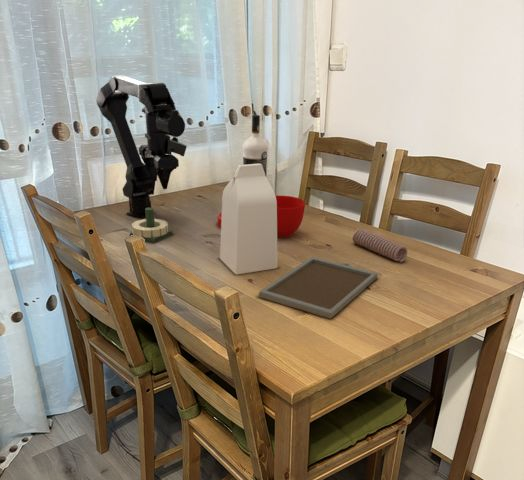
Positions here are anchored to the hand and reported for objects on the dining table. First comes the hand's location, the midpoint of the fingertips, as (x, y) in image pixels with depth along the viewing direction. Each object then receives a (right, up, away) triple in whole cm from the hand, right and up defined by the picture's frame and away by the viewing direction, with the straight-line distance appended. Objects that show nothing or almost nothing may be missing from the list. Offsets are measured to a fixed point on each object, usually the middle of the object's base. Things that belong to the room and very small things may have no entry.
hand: (159, 185), depth 169 cm
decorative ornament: (+22, -11, +8) cm, 26 cm away
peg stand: (-2, -16, -3) cm, 16 cm away
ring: (-2, -15, -3) cm, 15 cm away
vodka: (+28, -1, +24) cm, 37 cm away
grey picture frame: (+46, -34, -29) cm, 65 cm away
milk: (+27, -27, -18) cm, 43 cm away
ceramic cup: (+36, -14, +4) cm, 39 cm away
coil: (+65, -22, -8) cm, 69 cm away
